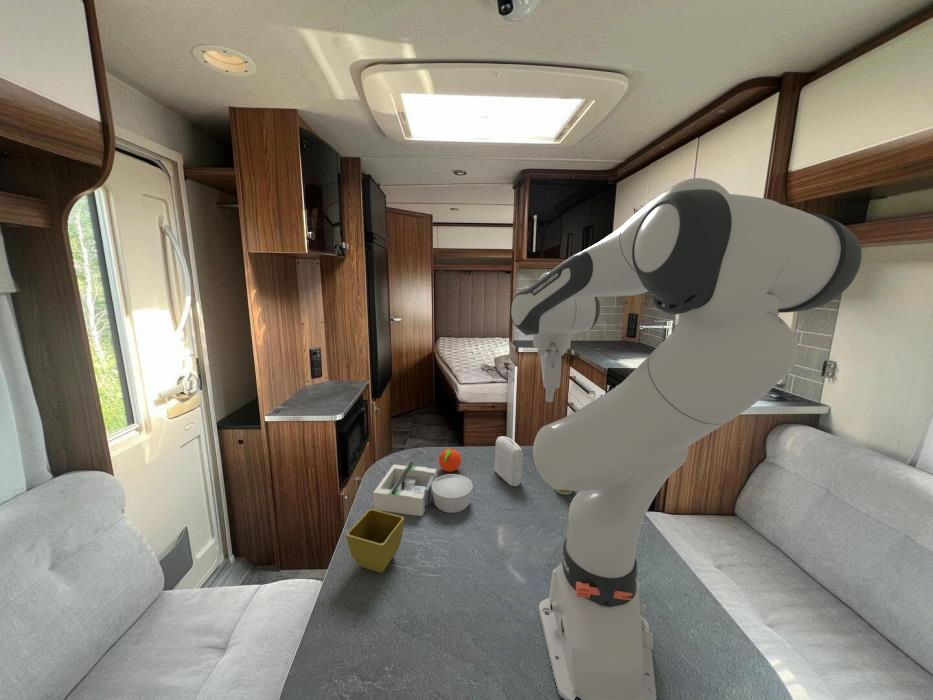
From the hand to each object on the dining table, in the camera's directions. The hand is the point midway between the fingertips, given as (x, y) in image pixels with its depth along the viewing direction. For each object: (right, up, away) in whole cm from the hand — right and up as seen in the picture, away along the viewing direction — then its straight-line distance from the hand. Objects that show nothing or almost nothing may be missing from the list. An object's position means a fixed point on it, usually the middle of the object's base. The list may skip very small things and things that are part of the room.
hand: (548, 394), depth 91 cm
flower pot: (-39, -34, -13) cm, 54 cm away
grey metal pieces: (-35, -29, +9) cm, 46 cm away
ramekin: (-24, -30, +7) cm, 39 cm away
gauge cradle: (-37, -29, +9) cm, 48 cm away
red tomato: (-26, -27, +22) cm, 43 cm away
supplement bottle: (+7, -29, +13) cm, 33 cm away
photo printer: (-8, -28, +19) cm, 34 cm away
